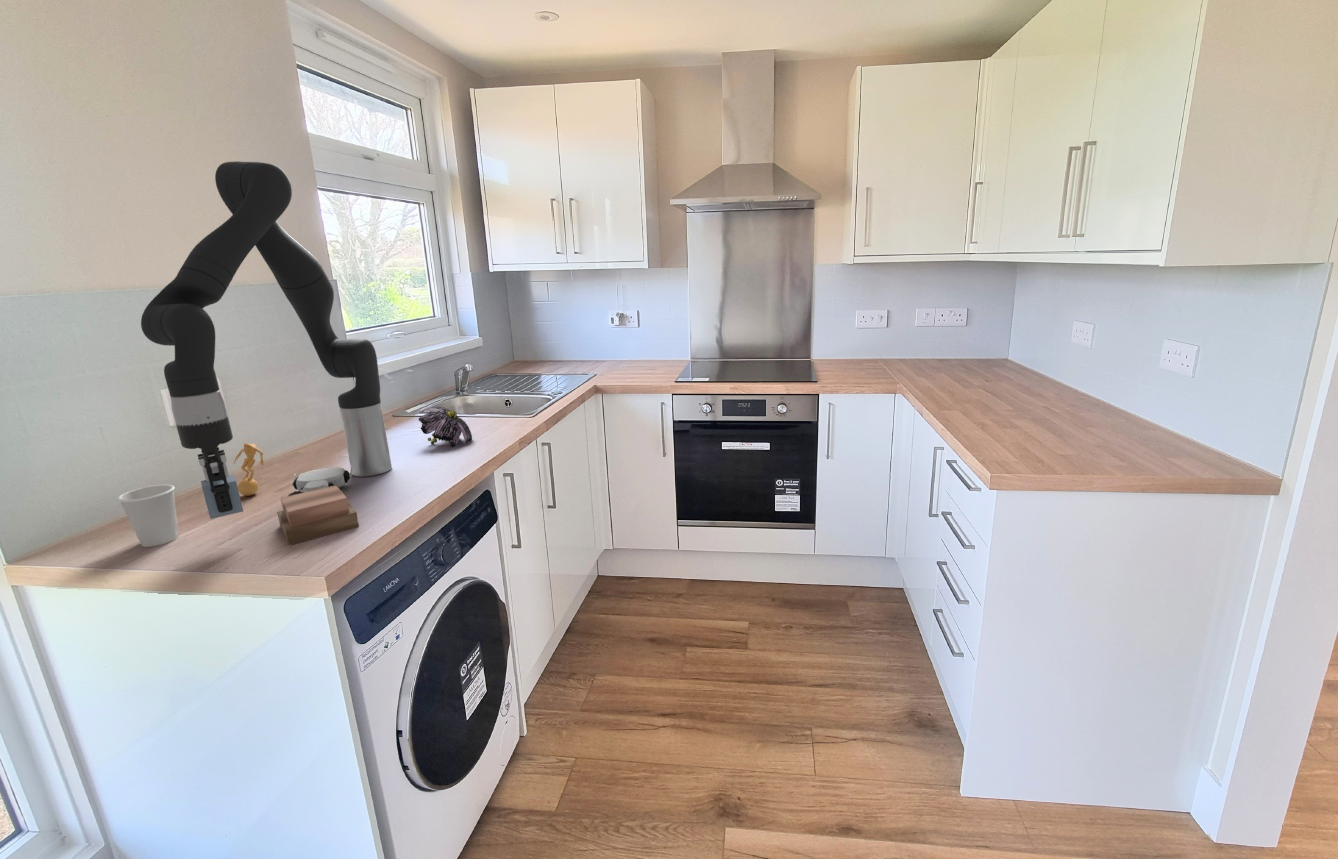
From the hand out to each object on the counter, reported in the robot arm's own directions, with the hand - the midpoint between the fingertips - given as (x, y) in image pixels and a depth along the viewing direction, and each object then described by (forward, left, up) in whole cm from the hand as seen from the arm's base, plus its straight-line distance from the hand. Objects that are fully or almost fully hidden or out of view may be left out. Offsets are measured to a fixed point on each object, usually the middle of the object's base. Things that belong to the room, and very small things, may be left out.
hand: (224, 506), depth 113 cm
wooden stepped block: (+2, +14, -8) cm, 16 cm away
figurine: (-31, +6, -8) cm, 32 cm away
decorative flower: (-39, +54, -8) cm, 67 cm away
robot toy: (-18, +18, -8) cm, 26 cm away
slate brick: (0, 0, -1) cm, 1 cm away
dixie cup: (-13, -11, -8) cm, 19 cm away
